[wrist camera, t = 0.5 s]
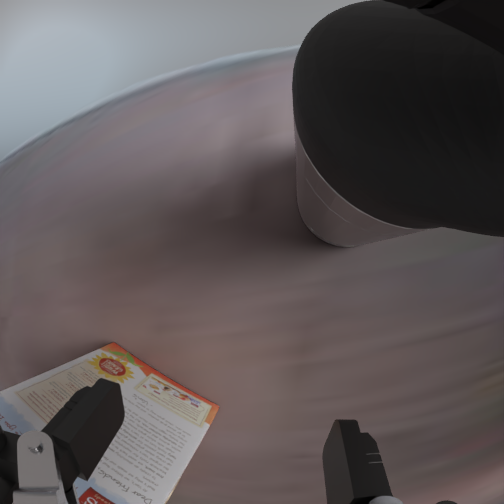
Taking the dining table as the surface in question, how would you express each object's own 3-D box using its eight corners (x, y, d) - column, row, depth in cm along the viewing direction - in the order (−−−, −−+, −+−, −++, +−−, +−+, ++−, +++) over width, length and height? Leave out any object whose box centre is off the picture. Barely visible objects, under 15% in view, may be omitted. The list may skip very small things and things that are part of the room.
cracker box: (102, 378, 31) (-30, 447, 10) (114, 339, 30) (-39, 398, 10) (201, 441, 29) (115, 574, 8) (222, 405, 28) (130, 555, 8)
